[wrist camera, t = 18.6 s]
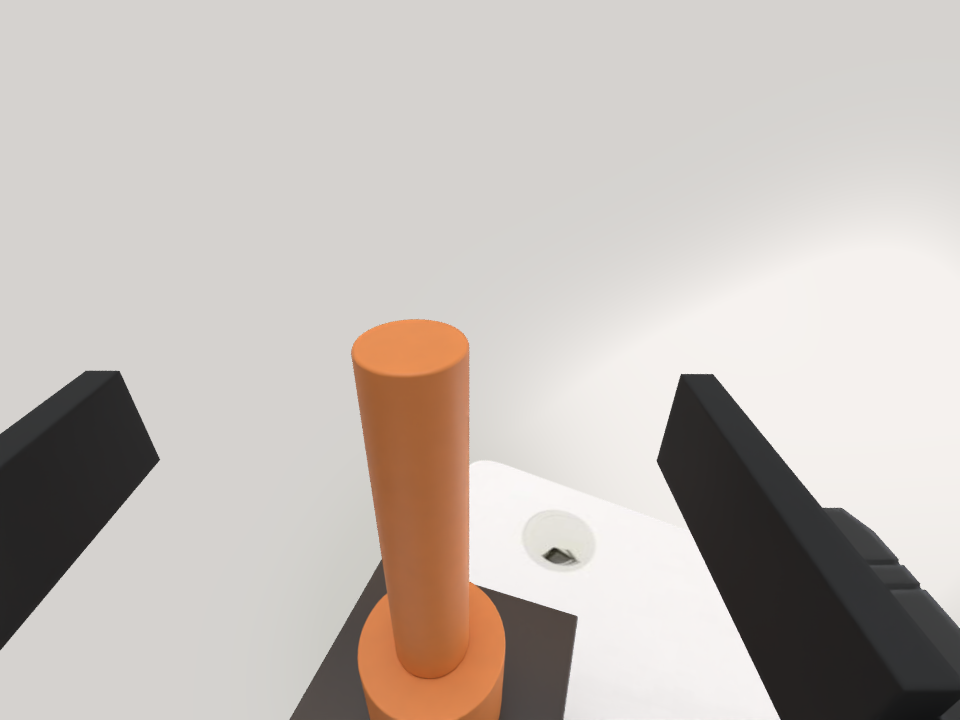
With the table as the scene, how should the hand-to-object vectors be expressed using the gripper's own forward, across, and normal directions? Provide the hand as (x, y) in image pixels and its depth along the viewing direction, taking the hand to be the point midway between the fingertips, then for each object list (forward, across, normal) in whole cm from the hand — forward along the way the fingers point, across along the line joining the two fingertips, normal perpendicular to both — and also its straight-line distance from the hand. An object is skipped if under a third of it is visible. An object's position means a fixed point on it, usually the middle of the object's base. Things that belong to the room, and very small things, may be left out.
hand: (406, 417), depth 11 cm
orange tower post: (0, 0, -14) cm, 14 cm away
